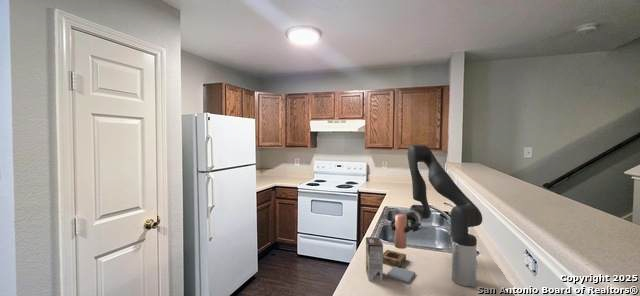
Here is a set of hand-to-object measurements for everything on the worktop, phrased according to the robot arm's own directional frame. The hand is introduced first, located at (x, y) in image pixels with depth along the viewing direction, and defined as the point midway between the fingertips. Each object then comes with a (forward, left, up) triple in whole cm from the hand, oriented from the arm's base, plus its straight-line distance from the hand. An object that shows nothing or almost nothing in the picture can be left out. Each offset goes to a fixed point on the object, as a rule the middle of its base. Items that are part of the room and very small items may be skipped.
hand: (399, 229), depth 122 cm
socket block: (+8, -15, -22) cm, 28 cm away
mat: (0, -3, -22) cm, 22 cm away
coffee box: (+10, +4, -22) cm, 25 cm away
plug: (0, -2, -8) cm, 9 cm away
